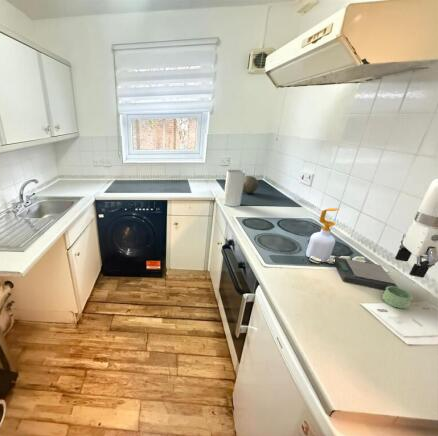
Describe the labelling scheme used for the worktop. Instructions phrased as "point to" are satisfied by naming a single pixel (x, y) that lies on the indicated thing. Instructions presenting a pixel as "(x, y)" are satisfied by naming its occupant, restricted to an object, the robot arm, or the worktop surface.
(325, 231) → the soap bottle
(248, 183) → the cantaloupe
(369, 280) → the scale
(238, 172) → the cylinder vase
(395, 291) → the bowl
